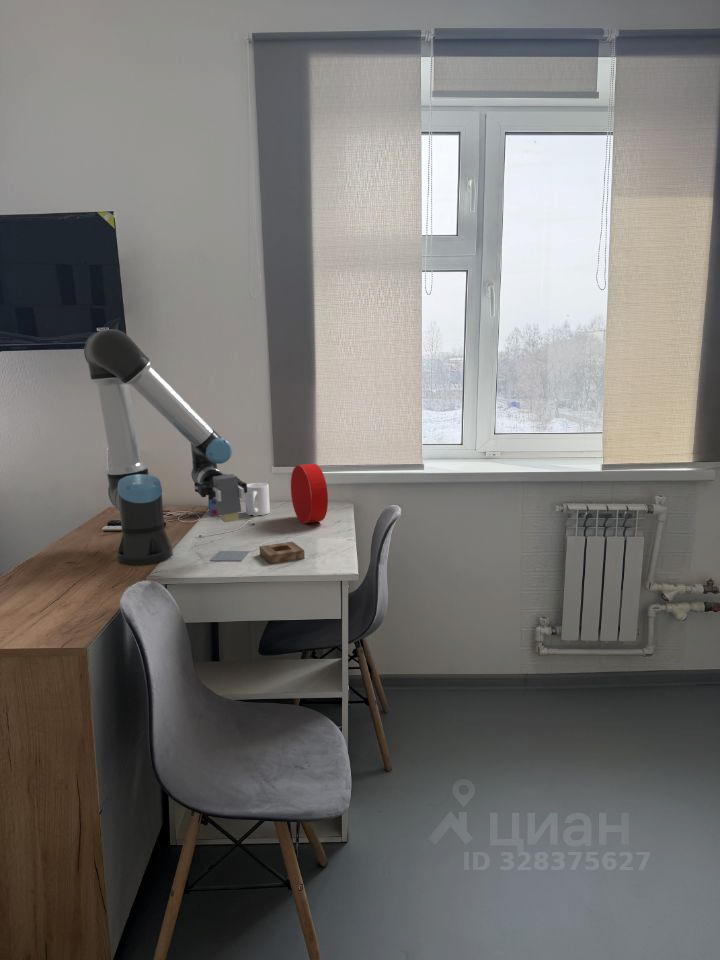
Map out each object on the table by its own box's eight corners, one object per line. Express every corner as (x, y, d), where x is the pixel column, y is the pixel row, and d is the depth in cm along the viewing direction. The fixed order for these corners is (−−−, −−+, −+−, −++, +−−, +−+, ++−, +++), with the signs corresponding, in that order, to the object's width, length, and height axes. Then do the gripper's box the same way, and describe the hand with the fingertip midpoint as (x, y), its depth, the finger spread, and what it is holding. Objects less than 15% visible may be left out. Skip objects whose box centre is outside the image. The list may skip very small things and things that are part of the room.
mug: (241, 519, 236) (240, 489, 234) (248, 511, 247) (247, 482, 245) (265, 518, 235) (264, 489, 233) (271, 510, 247) (270, 482, 245)
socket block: (270, 565, 182) (269, 555, 181) (259, 556, 191) (259, 546, 190) (304, 560, 186) (304, 550, 185) (292, 551, 195) (292, 541, 194)
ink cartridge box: (222, 516, 240) (219, 477, 237) (208, 515, 242) (205, 476, 239) (234, 510, 249) (232, 472, 247) (221, 509, 251) (219, 471, 248)
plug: (222, 523, 184) (217, 479, 182) (218, 519, 189) (212, 476, 187) (242, 520, 187) (237, 476, 184) (237, 515, 192) (232, 473, 189)
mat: (210, 562, 186) (209, 560, 186) (219, 553, 195) (219, 550, 195) (241, 563, 185) (241, 560, 185) (249, 553, 194) (249, 550, 194)
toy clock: (328, 527, 222) (326, 467, 218) (312, 529, 219) (310, 469, 216) (307, 514, 240) (305, 459, 236) (291, 516, 237) (289, 461, 233)
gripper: (243, 490, 207) (265, 504, 186) (182, 496, 199) (197, 512, 179) (241, 466, 206) (263, 478, 185) (180, 472, 198) (195, 485, 177)
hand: (231, 495), depth 182 cm, fingers closed on plug, 6 cm apart
